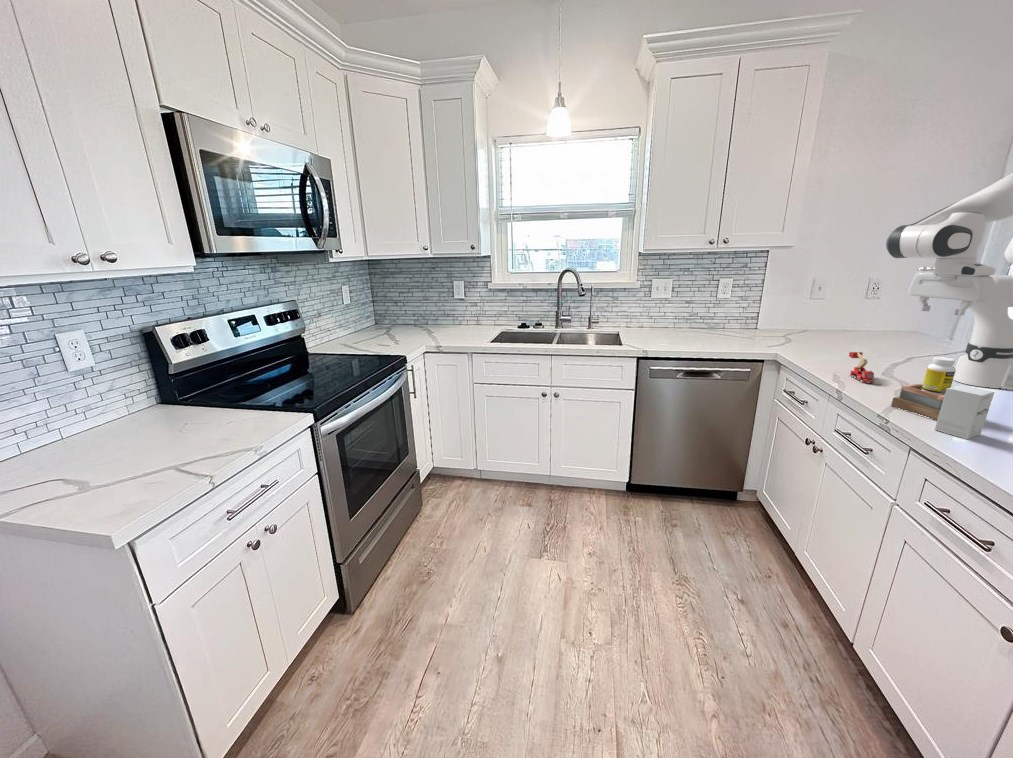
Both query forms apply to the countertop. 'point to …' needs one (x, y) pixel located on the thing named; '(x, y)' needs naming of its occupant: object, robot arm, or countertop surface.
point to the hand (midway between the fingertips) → (941, 313)
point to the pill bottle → (939, 375)
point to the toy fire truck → (861, 369)
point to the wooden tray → (919, 401)
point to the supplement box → (964, 411)
